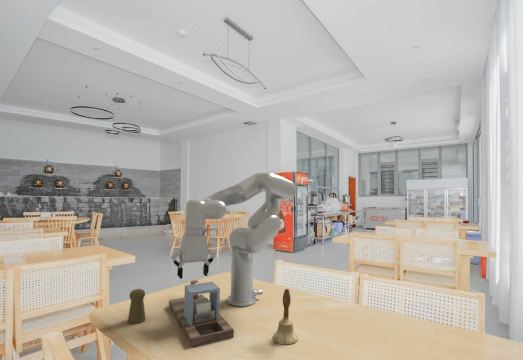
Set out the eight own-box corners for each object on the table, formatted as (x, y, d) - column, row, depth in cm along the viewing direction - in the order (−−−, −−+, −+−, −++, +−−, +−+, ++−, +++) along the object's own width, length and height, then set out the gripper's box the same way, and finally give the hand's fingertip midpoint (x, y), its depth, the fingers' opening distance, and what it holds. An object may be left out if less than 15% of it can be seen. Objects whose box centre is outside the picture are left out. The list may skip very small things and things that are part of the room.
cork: (139, 325, 104) (139, 293, 104) (123, 323, 105) (124, 292, 106) (148, 317, 110) (149, 288, 110) (134, 316, 111) (135, 286, 111)
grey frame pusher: (214, 319, 103) (215, 291, 103) (193, 323, 100) (194, 294, 100) (202, 303, 117) (202, 279, 117) (183, 307, 113) (183, 281, 113)
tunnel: (219, 319, 104) (219, 288, 104) (189, 325, 99) (190, 292, 99) (211, 311, 111) (212, 281, 111) (184, 316, 106) (184, 285, 106)
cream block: (206, 313, 108) (206, 297, 108) (210, 319, 104) (210, 302, 104) (192, 316, 106) (192, 299, 106) (196, 322, 101) (196, 304, 102)
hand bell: (291, 330, 102) (292, 284, 102) (302, 342, 94) (303, 292, 94) (269, 334, 99) (269, 286, 100) (278, 346, 91) (279, 294, 92)
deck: (233, 337, 97) (233, 329, 97) (191, 347, 90) (191, 339, 90) (202, 300, 127) (202, 294, 127) (168, 306, 121) (169, 300, 121)
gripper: (213, 230, 122) (211, 271, 121) (170, 231, 113) (168, 276, 113) (219, 232, 115) (217, 276, 114) (174, 234, 107) (172, 281, 106)
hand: (193, 276), depth 113 cm, fingers open, 9 cm apart
